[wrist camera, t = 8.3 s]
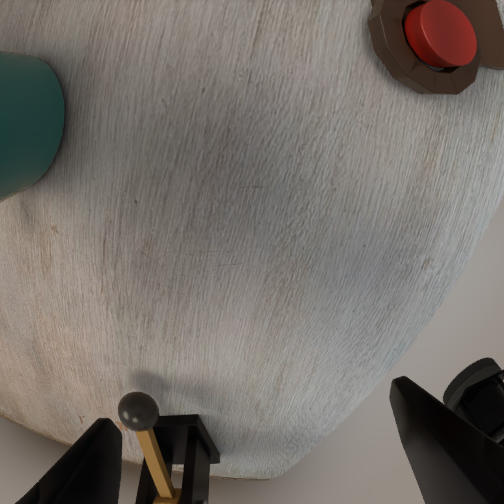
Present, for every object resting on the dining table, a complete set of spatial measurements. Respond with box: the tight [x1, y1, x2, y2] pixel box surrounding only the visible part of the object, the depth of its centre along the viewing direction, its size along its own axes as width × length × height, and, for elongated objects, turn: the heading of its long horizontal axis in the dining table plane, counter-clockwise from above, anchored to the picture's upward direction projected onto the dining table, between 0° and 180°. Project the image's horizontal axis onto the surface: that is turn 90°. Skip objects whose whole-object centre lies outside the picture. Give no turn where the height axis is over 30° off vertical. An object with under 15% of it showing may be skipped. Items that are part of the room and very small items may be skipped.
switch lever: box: [118, 392, 182, 504], centre depth 20 cm, size 13×3×3 cm, turn 10°
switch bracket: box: [135, 415, 220, 504], centre depth 23 cm, size 8×6×10 cm
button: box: [405, 0, 477, 68], centre depth 10 cm, size 4×4×2 cm
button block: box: [368, 0, 504, 95], centre depth 11 cm, size 11×10×3 cm
